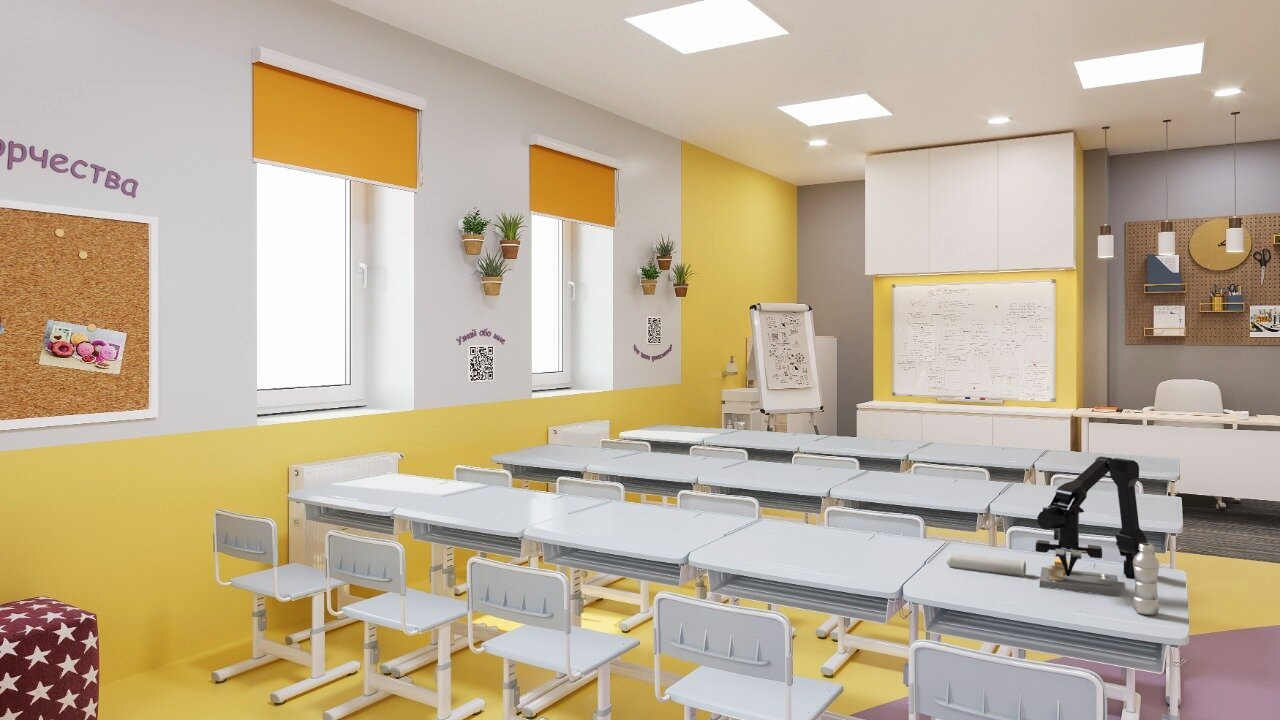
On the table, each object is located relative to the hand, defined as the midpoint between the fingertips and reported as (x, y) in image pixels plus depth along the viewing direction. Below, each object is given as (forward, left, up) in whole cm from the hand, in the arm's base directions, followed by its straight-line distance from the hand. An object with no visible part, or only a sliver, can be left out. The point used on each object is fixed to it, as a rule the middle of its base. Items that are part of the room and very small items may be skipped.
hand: (1068, 575), depth 265 cm
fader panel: (-3, -5, -4) cm, 7 cm away
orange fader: (+2, -10, -1) cm, 10 cm away
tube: (+25, -8, -4) cm, 27 cm away
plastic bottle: (-20, +19, -4) cm, 28 cm away
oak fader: (+3, 0, -1) cm, 4 cm away
